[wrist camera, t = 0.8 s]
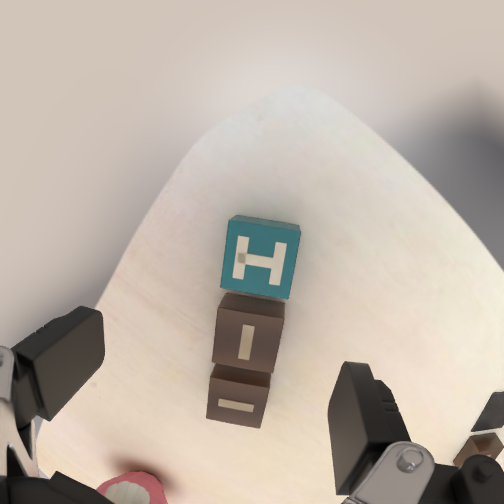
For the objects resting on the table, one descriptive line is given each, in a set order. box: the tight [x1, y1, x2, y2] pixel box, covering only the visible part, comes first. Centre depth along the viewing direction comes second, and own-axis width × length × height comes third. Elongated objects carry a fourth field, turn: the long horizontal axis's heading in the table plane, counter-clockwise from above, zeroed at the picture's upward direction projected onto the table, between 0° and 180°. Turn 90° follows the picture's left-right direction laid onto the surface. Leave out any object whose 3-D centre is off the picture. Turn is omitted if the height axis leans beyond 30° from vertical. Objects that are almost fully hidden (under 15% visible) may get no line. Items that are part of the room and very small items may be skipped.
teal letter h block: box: [220, 215, 301, 299], centre depth 22 cm, size 5×5×3 cm
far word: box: [453, 392, 504, 467], centre depth 25 cm, size 23×6×3 cm, turn 172°
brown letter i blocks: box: [206, 293, 285, 428], centre depth 24 cm, size 11×5×3 cm, turn 172°
